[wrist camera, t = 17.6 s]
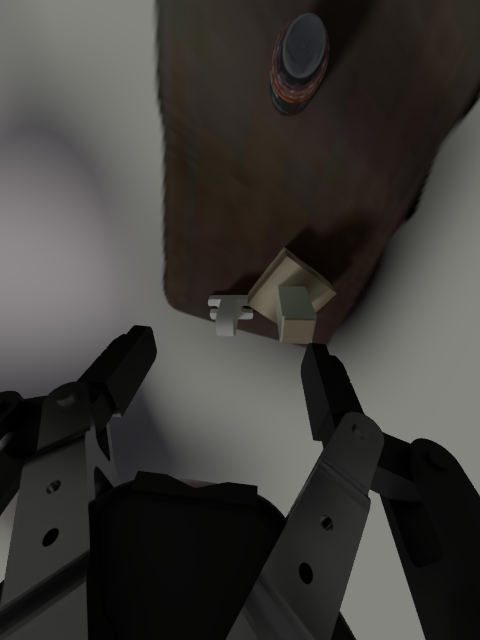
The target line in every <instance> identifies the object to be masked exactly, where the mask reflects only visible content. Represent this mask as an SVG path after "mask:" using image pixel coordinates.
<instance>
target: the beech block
mask: <svg viewBox="0 0 480 640" xmlns="http://www.w3.org/2000/svg"><path fill="white" fill-rule="evenodd" d="M278 286H303V287H305V288H306V290H307V293H308V295H309V298H310V300H311V303H312V305H313V308H314V310H315V313H316V312H317V311H318V310H319V309H320V308H321V307H322V306H324V305H325V304H326V303H327V302H328V301H329V300H330V299H331V298H332V297H333V296H335V295H336V294H337V293H336V292H335V290H334V288H333V287H332V285H331V284H330V282H329V281H328V280H327V279H326V278H324V277H323V276H322V275H320V274H319V273H318V272H316V271H315V270H314V269H312V268H311V267H310V266H309V265H307V264H306V263H305V262H303V261H302V260H301V259H299V258H298V257H297V256H295V255H294V254H293V253H291V252H290V251H289V250H287V249H286V248H285V247H284V248H283V249H282V251H281V252H280V253H279V254H278V256H277V257H276V258H275V259H274V261H273V262H272V263H271V264H270V266H269V267H268V268H267V269H266V271H265V272H264V273H263V274H262V276H261V277H260V278H259V280H258V281H257V282H256V283H255V285H254V286H253V287H252V288H251V290H250V291H249V293H248V302H247V305H248V306H250V307H251V308H253V309H255V310H256V311H258V312H259V313H261V314H262V315H264V316H266V317H267V318H269V319H270V320H272V321H274V322H275V323H277V324H278V322H277V314H276V302H277V290H278Z"/></svg>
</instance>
